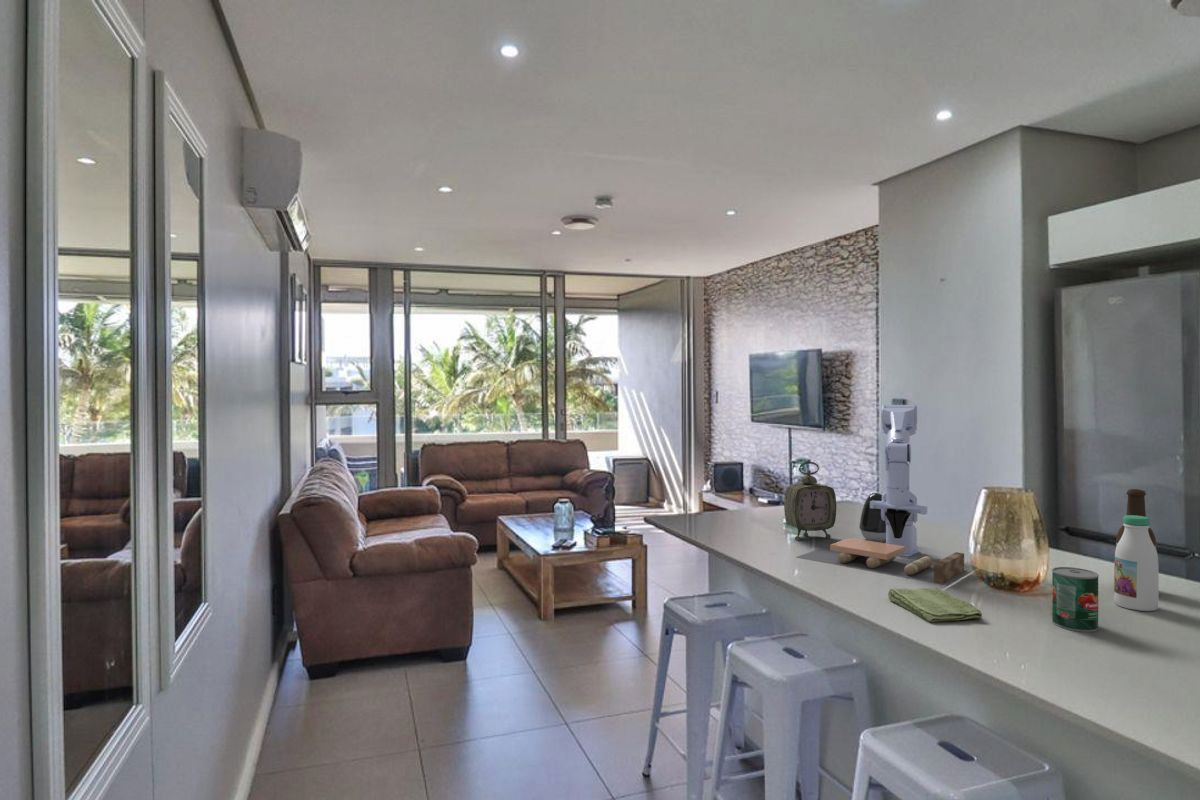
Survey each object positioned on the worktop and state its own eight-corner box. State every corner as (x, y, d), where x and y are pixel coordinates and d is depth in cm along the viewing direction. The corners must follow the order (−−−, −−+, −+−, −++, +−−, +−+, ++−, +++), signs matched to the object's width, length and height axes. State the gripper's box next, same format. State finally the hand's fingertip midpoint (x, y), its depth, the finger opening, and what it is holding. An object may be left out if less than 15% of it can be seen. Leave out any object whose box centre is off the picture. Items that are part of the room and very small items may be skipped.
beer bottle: (1150, 587, 166) (1151, 488, 165) (1161, 596, 159) (1161, 493, 158) (1111, 583, 169) (1112, 486, 168) (1120, 592, 162) (1120, 491, 161)
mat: (825, 547, 210) (825, 546, 210) (967, 571, 181) (967, 570, 181) (795, 558, 197) (795, 557, 197) (943, 586, 168) (943, 584, 168)
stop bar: (956, 570, 182) (956, 552, 182) (964, 572, 181) (964, 553, 181) (933, 583, 171) (933, 563, 171) (942, 585, 169) (942, 565, 169)
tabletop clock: (794, 542, 216) (794, 463, 216) (781, 536, 225) (781, 460, 225) (836, 540, 219) (836, 462, 219) (821, 534, 228) (821, 459, 228)
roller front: (885, 559, 194) (885, 548, 193) (896, 560, 191) (896, 550, 191) (864, 568, 184) (864, 557, 184) (875, 570, 182) (875, 559, 182)
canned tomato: (1100, 634, 135) (1100, 579, 135) (1052, 627, 139) (1052, 573, 139) (1096, 622, 142) (1097, 570, 142) (1051, 616, 146) (1051, 565, 146)
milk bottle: (1149, 602, 154) (1149, 514, 154) (1164, 613, 147) (1165, 520, 147) (1108, 599, 157) (1109, 512, 156) (1122, 610, 149) (1122, 519, 149)
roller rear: (857, 554, 199) (857, 544, 199) (868, 556, 197) (867, 545, 197) (836, 563, 190) (836, 552, 190) (846, 565, 188) (846, 554, 188)
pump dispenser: (887, 536, 223) (887, 490, 223) (898, 544, 213) (898, 495, 213) (855, 536, 224) (855, 490, 224) (864, 543, 214) (864, 495, 214)
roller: (921, 564, 186) (922, 554, 186) (932, 567, 184) (933, 557, 184) (902, 574, 177) (902, 564, 177) (913, 577, 175) (914, 567, 175)
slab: (849, 542, 201) (849, 537, 201) (905, 551, 190) (905, 546, 190) (830, 550, 192) (830, 544, 192) (887, 559, 181) (887, 554, 181)
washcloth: (929, 626, 142) (929, 611, 142) (883, 600, 160) (883, 586, 160) (987, 623, 144) (987, 607, 144) (936, 597, 161) (936, 583, 161)
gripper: (865, 486, 187) (865, 536, 187) (920, 492, 177) (920, 544, 177) (875, 483, 192) (875, 531, 192) (930, 488, 182) (930, 539, 182)
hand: (897, 537), depth 185 cm, fingers closed
